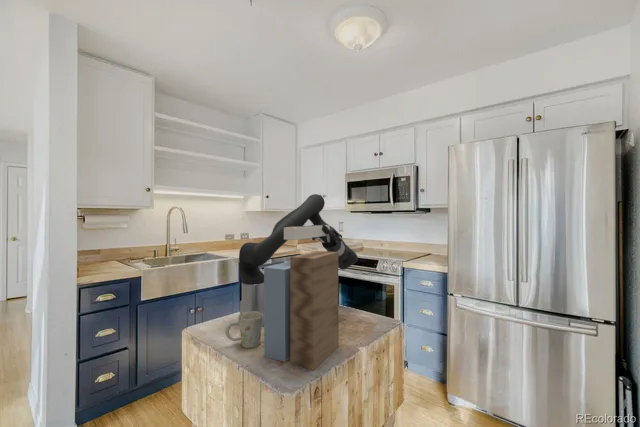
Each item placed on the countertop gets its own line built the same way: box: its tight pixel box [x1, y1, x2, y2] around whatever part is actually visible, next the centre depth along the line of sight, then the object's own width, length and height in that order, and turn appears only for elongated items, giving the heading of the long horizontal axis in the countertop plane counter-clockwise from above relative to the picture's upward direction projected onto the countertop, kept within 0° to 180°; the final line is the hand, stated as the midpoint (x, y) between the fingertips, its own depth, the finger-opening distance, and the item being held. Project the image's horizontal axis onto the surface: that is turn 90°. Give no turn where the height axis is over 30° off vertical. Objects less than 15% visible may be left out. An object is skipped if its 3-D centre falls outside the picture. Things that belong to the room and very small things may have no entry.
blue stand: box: [263, 260, 290, 363], centre depth 98 cm, size 8×17×28 cm, turn 152°
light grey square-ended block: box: [284, 224, 331, 241], centre depth 109 cm, size 4×26×4 cm, turn 152°
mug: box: [224, 311, 263, 349], centre depth 100 cm, size 8×13×10 cm, turn 107°
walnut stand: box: [289, 250, 340, 371], centre depth 93 cm, size 8×17×32 cm, turn 152°
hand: (317, 227), depth 115 cm, fingers closed on light grey square-ended block, 4 cm apart
